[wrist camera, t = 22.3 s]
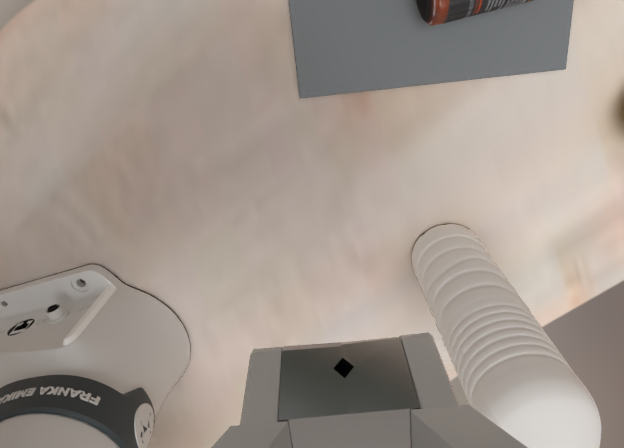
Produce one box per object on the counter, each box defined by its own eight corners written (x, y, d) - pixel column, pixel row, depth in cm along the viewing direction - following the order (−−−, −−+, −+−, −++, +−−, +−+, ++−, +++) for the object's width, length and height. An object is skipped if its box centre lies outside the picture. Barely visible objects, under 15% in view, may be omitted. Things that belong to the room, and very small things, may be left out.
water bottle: (450, 208, 43) (612, 440, 21) (493, 253, 45) (683, 508, 23) (378, 268, 46) (452, 534, 23) (421, 308, 48) (528, 587, 25)
